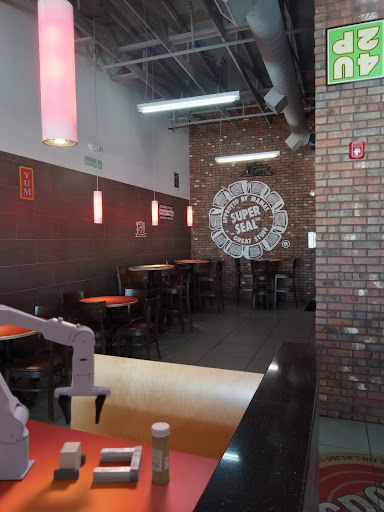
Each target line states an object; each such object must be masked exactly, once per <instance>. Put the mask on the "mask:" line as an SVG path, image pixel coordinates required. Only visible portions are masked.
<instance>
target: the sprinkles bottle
mask: <svg viewBox="0 0 384 512" xmlns="http://www.w3.org/2000/svg"><path fill="white" fill-rule="evenodd" d="M170 427H171V426H170V424H168V423H167V422H159V421H158V422H155V423H153V424H152V425H151V428H150V431H151V432H150V434H151V481H152V482H153V483H154V484H156V485H164V484H167V483H168V482H169V481H170V479H171V477H170V434H171V433H170V431H171V429H170Z"/></svg>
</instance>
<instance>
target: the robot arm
mask: <svg viewBox="0 0 384 512" xmlns="http://www.w3.org/2000/svg"><path fill="white" fill-rule="evenodd" d="M7 325H11V326H12V325H13V326H16V327H19V328H23V329H28V330H30V331H35V332H39V333H41V334H42V336H43V338H44V339H45V340H46V341H47V340H48V341H50V342H51V341H52V342H54V343H58V344H61V345H64V346H68V347H71V346H72V348H73V354H72V360H71V362H72V364H71V366H72V367H71V369H72V370H71V373H72V374H71V377H72V378H71V382H72V383H71V386H65V387H57V388H56V389H55V390H54V398H56V399H57V398H58V400H57V404H58V406H59V408H60V409H61V410H62V413H63V415H64V419H65V424H66V426H69V425H70V424H71V421H72V399H73V397H95V400H94V407H95V417H94V418H95V419H94V421H95V423H94V424H95V425H99V423H100V418H101V414H102V410H103V407H104V403H105V402H106V400H107V398H110V397H111V394H112V387H111V386H110V387H109V386H99V385H95V354H94V352H95V345H96V340H95V338H96V337H95V333H94V331H93V330H92V329H91V328H90V327H88V326H86V325H81V324H80V323H77V324H74V323H71V322H67V321H65V320H64V317H60V316H58V318H56V317H53V318H50V319H47V320H46V319H43V318H41V317H37V316H34V315H32V314H30V313H26V312H24V311H21V310H19V309H17V308H13V307H10V306H7V305H5V304H0V327H3V326H7ZM29 418H30V412H29V409H28V408H27V406H25V405H24V404H22V403H21V402H20V401H19V399H18V397H16V396H14V395H13V393H12V392H11V391H10V388H9V386H8V384H7V383H6V381H5V379H4V377H3V375H2V373H1V372H0V481H7V480H8V481H9V480H11V481H12V480H13V481H14V480H18V481H19V480H24V478H25V477H26V475H27V474H28V472H29V471H30V470H31V468H32V467H33V465H34V464H35V459H30V456H29V455H30V453H29V452H30V451H29V449H30V447H29V445H30V444H29V443H30V440H29V438H30V437H29V435H30V434H29V432H30V431H29V429H28V428H27V426H26V424H27V422H28V420H29Z"/></svg>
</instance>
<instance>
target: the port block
mask: <svg viewBox="0 0 384 512" xmlns="http://www.w3.org/2000/svg"><path fill="white" fill-rule="evenodd" d="M99 454H100V455H99V457H100V461H99V462H101V463H102V462H104V463H106V462H107V463H108V462H130V466H109V467H106V466H101V467H94V469H93V471H92V483H113V482H114V483H119V482H121V483H123V482H125V483H126V482H139V478H140V472H141V466H142V460H143V446H142V445H135V446H134V447H117V448H115V447H113V448H112V447H111V448H110V447H109V448H107V447H105V448H101V451H100V453H99Z"/></svg>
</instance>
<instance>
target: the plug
mask: <svg viewBox="0 0 384 512" xmlns="http://www.w3.org/2000/svg"><path fill="white" fill-rule="evenodd" d="M81 444H82V442H81V441H75V442H73V441H71V442H69V441H67V442H64V444H63V446H62V447H61V449H60V451H59V469H79V470H80V467H81V464H82V463H81V454H82V453H81V452H82V450H81V449H82V445H81Z"/></svg>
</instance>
